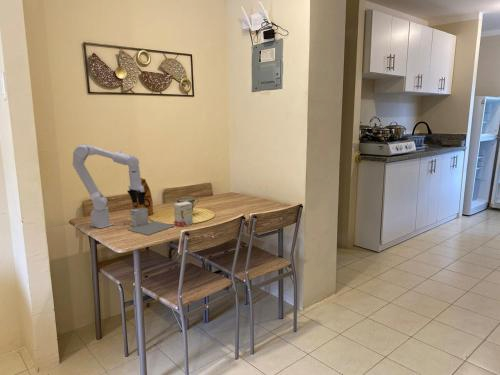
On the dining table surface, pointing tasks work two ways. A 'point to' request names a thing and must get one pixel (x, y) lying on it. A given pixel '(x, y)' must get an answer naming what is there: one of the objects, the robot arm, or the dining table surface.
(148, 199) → the coffee package
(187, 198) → the ceramic cup
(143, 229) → the mat
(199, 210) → the dining table surface
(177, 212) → the ink box
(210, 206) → the dining table surface
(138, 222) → the medicine box
